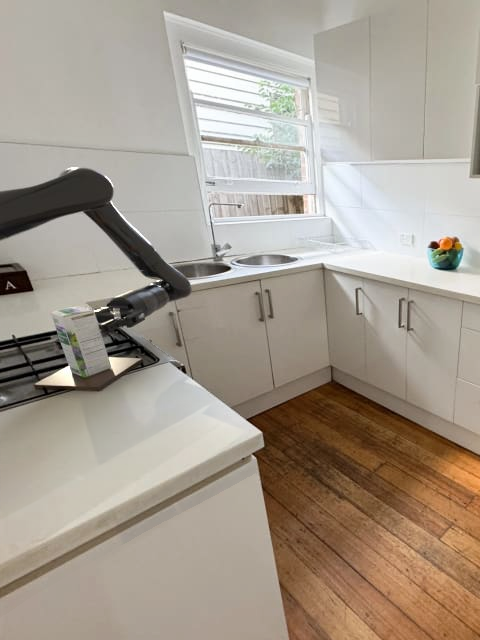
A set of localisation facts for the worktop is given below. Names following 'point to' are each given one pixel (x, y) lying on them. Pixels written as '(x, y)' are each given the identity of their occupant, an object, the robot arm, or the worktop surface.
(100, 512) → the worktop surface
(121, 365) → the walnut board
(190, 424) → the worktop surface
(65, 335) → the syrup box
